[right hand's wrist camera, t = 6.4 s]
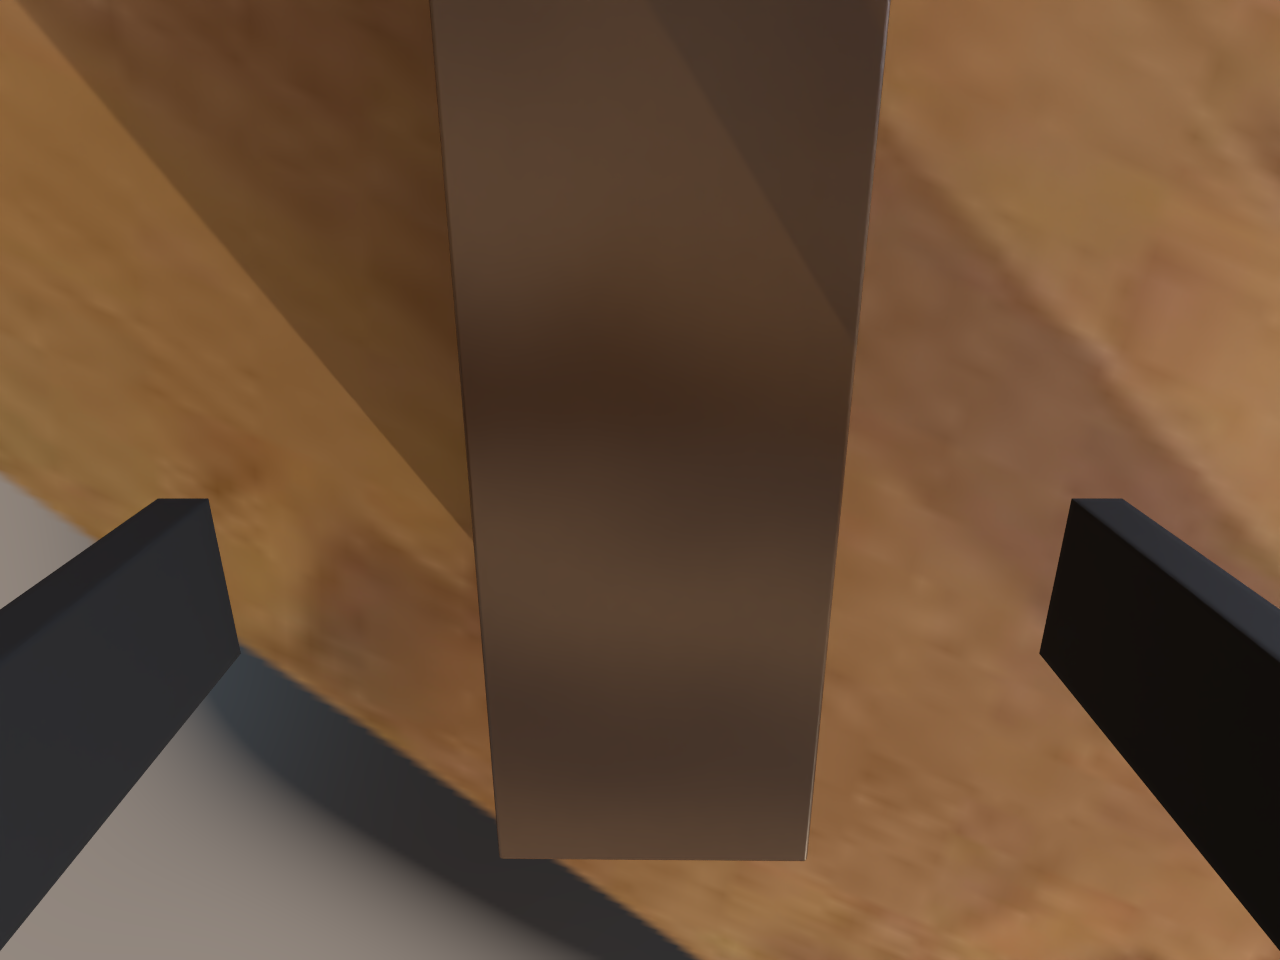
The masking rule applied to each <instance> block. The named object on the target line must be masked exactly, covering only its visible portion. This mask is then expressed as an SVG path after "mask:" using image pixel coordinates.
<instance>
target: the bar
mask: <svg viewBox="0 0 1280 960" xmlns="http://www.w3.org/2000/svg"><path fill="white" fill-rule="evenodd" d="M890 2H891V0H429V4H430V16H431V28H432V40H433V53H434V65H435V77H436V89H437V101H438V114H439V126H440V138H441V150H442V162H443V175H444V187H445V199H446V211H447V223H448V236H449V248H450V260H451V272H452V285H453V297H454V309H455V321H456V333H457V346H458V358H459V370H460V382H461V394H462V407H463V419H464V431H465V443H466V455H467V468H468V480H469V492H470V504H471V517H472V529H473V541H474V553H475V565H476V578H477V590H478V602H479V614H480V626H481V639H482V651H483V663H484V675H485V687H486V700H487V712H488V724H489V736H490V748H491V761H492V773H493V785H494V797H495V810H496V822H497V834H498V846H499V856H500V858H502V859H624V860H749V861H805V860H806V859H807V852H808V841H809V831H810V821H811V811H812V800H813V790H814V780H815V770H816V759H817V749H818V739H819V729H820V718H821V708H822V698H823V688H824V677H825V667H826V657H827V647H828V637H829V626H830V616H831V606H832V596H833V585H834V575H835V565H836V555H837V544H838V534H839V524H840V514H841V503H842V493H843V483H844V473H845V462H846V452H847V442H848V432H849V422H850V411H851V401H852V391H853V381H854V370H855V360H856V350H857V340H858V329H859V319H860V309H861V299H862V288H863V278H864V268H865V258H866V247H867V237H868V227H869V217H870V207H871V196H872V186H873V176H874V166H875V155H876V145H877V135H878V125H879V114H880V104H881V94H882V84H883V73H884V63H885V53H886V43H887V32H888V22H889V12H890Z"/></svg>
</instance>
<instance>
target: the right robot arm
mask: <svg viewBox="0 0 1280 960" xmlns="http://www.w3.org/2000/svg"><path fill="white" fill-rule="evenodd" d="M1039 654H1040V655H1041V656H1042V657H1043V659H1044V660H1045V661H1046V662H1047V664H1048V665H1049V666H1050V667H1051V668H1052V670H1053V671H1054V672H1055V673H1056V675H1057V676H1058V677H1059V678H1060V680H1061V681H1062V682H1063V683H1064V685H1065V686H1066V687H1067V688H1068V689H1069V691H1070V692H1071V693H1072V694H1073V696H1074V697H1075V698H1076V699H1077V701H1078V702H1079V703H1080V704H1081V706H1082V707H1083V708H1084V709H1085V711H1086V712H1087V713H1088V714H1089V715H1090V717H1091V718H1092V719H1093V720H1094V722H1095V723H1096V724H1097V725H1098V727H1099V728H1100V729H1101V730H1102V732H1103V733H1104V734H1105V735H1106V736H1107V738H1108V739H1109V740H1110V741H1111V743H1112V744H1113V745H1114V746H1115V748H1116V749H1117V750H1118V751H1119V753H1120V754H1121V755H1122V756H1123V757H1124V759H1125V760H1126V761H1127V762H1128V764H1129V765H1130V766H1131V767H1132V769H1133V770H1134V771H1135V772H1136V774H1137V775H1138V776H1139V777H1140V779H1141V780H1142V781H1143V782H1144V783H1145V785H1146V786H1147V787H1148V788H1149V790H1150V791H1151V792H1152V793H1153V795H1154V796H1155V797H1156V798H1157V800H1158V801H1159V802H1160V803H1161V804H1162V806H1163V807H1164V808H1165V809H1166V811H1167V812H1168V813H1169V814H1170V816H1171V817H1172V818H1173V819H1174V821H1175V822H1176V823H1177V824H1178V826H1179V827H1180V828H1181V829H1182V830H1183V832H1184V833H1185V834H1186V835H1187V837H1188V838H1189V839H1190V840H1191V842H1192V843H1193V844H1194V845H1195V847H1196V848H1197V849H1198V850H1199V851H1200V853H1201V854H1202V855H1203V856H1204V858H1205V859H1206V860H1207V861H1208V863H1209V864H1210V865H1211V866H1212V868H1213V869H1214V870H1215V871H1216V873H1217V874H1218V875H1219V876H1220V877H1221V879H1222V880H1223V881H1224V882H1225V884H1226V885H1227V886H1228V887H1229V889H1230V890H1231V891H1232V892H1233V894H1234V895H1235V896H1236V897H1237V898H1238V900H1239V901H1240V902H1241V903H1242V905H1243V906H1244V907H1245V908H1246V910H1247V911H1248V912H1249V913H1250V915H1251V916H1252V917H1253V918H1254V920H1255V921H1256V922H1257V923H1258V924H1259V926H1260V927H1261V928H1262V929H1263V931H1264V932H1265V933H1266V934H1267V936H1268V937H1269V938H1270V939H1271V941H1272V942H1273V943H1274V944H1275V945H1276V947H1277V948H1278V949H1279V950H1280V609H1278V608H1277V607H1275V606H1274V605H1273V604H1271V603H1270V602H1268V601H1267V600H1265V599H1264V598H1263V597H1261V596H1260V595H1258V594H1257V593H1256V592H1254V591H1253V590H1251V589H1250V588H1248V587H1247V586H1246V585H1244V584H1243V583H1241V582H1240V581H1238V580H1237V579H1236V578H1234V577H1233V576H1231V575H1230V574H1229V573H1227V572H1226V571H1224V570H1223V569H1221V568H1220V567H1219V566H1217V565H1216V564H1214V563H1213V562H1211V561H1210V560H1209V559H1207V558H1206V557H1204V556H1203V555H1202V554H1200V553H1199V552H1197V551H1196V550H1194V549H1193V548H1192V547H1190V546H1189V545H1187V544H1186V543H1184V542H1183V541H1182V540H1180V539H1179V538H1177V537H1176V536H1175V535H1173V534H1172V533H1170V532H1169V531H1167V530H1166V529H1165V528H1163V527H1162V526H1160V525H1159V524H1157V523H1156V522H1155V521H1153V520H1152V519H1150V518H1149V517H1147V516H1146V515H1145V514H1143V513H1142V512H1140V511H1139V510H1138V509H1136V508H1135V507H1133V506H1132V505H1130V504H1129V503H1128V502H1126V501H1125V500H1123V499H1072V500H1071V505H1070V509H1069V514H1068V519H1067V524H1066V529H1065V533H1064V538H1063V543H1062V548H1061V552H1060V557H1059V562H1058V567H1057V572H1056V576H1055V581H1054V586H1053V591H1052V596H1051V600H1050V605H1049V610H1048V615H1047V619H1046V624H1045V629H1044V634H1043V639H1042V643H1041V648H1040V653H1039ZM239 655H240V648H239V643H238V639H237V634H236V629H235V624H234V619H233V615H232V610H231V605H230V600H229V596H228V591H227V586H226V581H225V576H224V572H223V567H222V562H221V557H220V552H219V548H218V543H217V538H216V533H215V529H214V524H213V519H212V514H211V509H210V505H209V500H208V499H157V500H155V501H154V502H152V503H151V504H150V505H148V506H147V507H145V508H144V509H142V510H141V511H140V512H138V513H137V514H135V515H134V516H133V517H131V518H130V519H128V520H127V521H125V522H124V523H123V524H121V525H120V526H118V527H117V528H115V529H114V530H113V531H111V532H110V533H108V534H107V535H105V536H104V537H103V538H101V539H100V540H98V541H97V542H96V543H94V544H93V545H91V546H90V547H88V548H87V549H86V550H84V551H83V552H81V553H80V554H79V555H77V556H76V557H74V558H73V559H71V560H70V561H69V562H67V563H66V564H64V565H63V566H62V567H60V568H59V569H57V570H56V571H54V572H53V573H52V574H50V575H49V576H47V577H46V578H44V579H43V580H42V581H40V582H39V583H37V584H36V585H34V586H33V587H32V588H30V589H29V590H27V591H26V592H24V593H23V594H22V595H20V596H19V597H17V598H16V599H15V600H13V601H12V602H10V603H9V604H7V605H6V606H5V607H3V608H2V609H0V950H1V949H2V948H3V947H4V945H5V944H6V943H7V942H8V941H9V939H10V938H11V937H12V936H13V934H14V933H15V932H16V931H17V929H18V928H19V927H20V926H21V924H22V923H23V922H24V921H25V920H26V918H27V917H28V916H29V915H30V913H31V912H32V911H33V910H34V908H35V907H36V906H37V905H38V903H39V902H40V901H41V900H42V898H43V897H44V896H45V895H46V894H47V892H48V891H49V890H50V889H51V887H52V886H53V885H54V884H55V882H56V881H57V880H58V879H59V877H60V876H61V875H62V874H63V873H64V871H65V870H66V869H67V868H68V866H69V865H70V864H71V863H72V861H73V860H74V859H75V858H76V856H77V855H78V854H79V853H80V851H81V850H82V849H83V848H84V846H85V845H86V844H87V843H88V842H89V840H90V839H91V838H92V837H93V835H94V834H95V833H96V832H97V830H98V829H99V828H100V827H101V825H102V824H103V823H104V822H105V821H106V819H107V818H108V817H109V816H110V814H111V813H112V812H113V811H114V809H115V808H116V807H117V806H118V804H119V803H120V802H121V801H122V800H123V798H124V797H125V796H126V795H127V793H128V792H129V791H130V790H131V788H132V787H133V786H134V785H135V783H136V782H137V781H138V780H139V779H140V777H141V776H142V775H143V774H144V772H145V771H146V770H147V769H148V767H149V766H150V765H151V764H152V762H153V761H154V760H155V759H156V757H157V756H158V755H159V754H160V752H161V751H162V750H163V749H164V748H165V746H166V745H167V744H168V743H169V741H170V740H171V739H172V738H173V736H174V735H175V734H176V733H177V732H178V730H179V729H180V728H181V727H182V725H183V724H184V723H185V722H186V720H187V719H188V718H189V717H190V715H191V714H192V713H193V712H194V710H195V709H196V708H197V707H198V706H199V704H200V703H201V702H202V701H203V699H204V698H205V697H206V696H207V694H208V693H209V692H210V691H211V689H212V688H213V687H214V686H215V685H216V683H217V682H218V681H219V680H220V678H221V677H222V676H223V675H224V673H225V672H226V671H227V670H228V668H229V667H230V666H231V665H232V664H233V662H234V661H235V660H236V659H237V657H238V656H239Z"/></svg>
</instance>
